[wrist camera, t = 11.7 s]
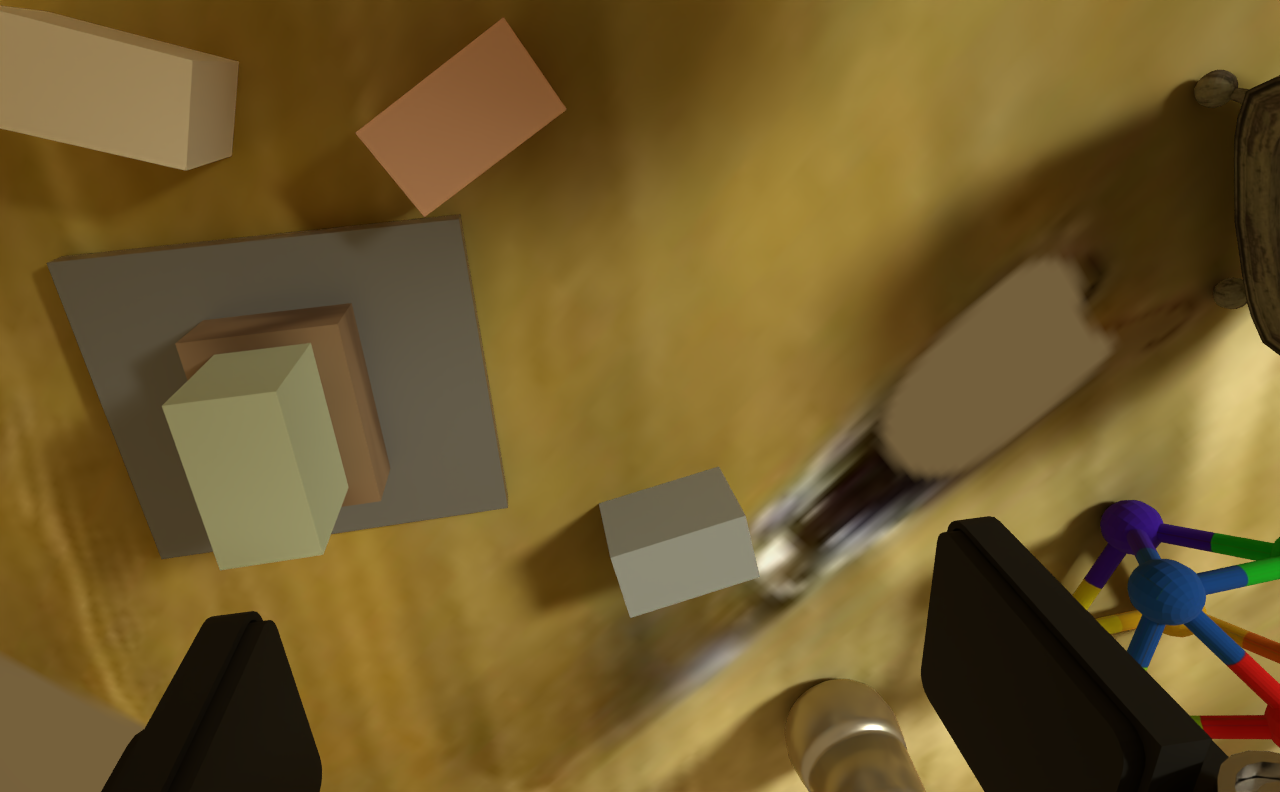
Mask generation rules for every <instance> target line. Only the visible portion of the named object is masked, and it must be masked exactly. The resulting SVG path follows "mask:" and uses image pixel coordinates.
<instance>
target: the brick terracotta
mask: <svg viewBox="0 0 1280 792" xmlns="http://www.w3.org/2000/svg"><path fill="white" fill-rule="evenodd" d="M565 110H567V109H566V108H565V106H564V105H563V103H562V102H561V100H560V99H559V97H558V96H557V94H556V93H555V91H554V90H553V89H552V87H551V86H550V84H549V83H548V81H547V80H546V78H545V77H544V75H543V74H542V72H541V71H540V70H539V68H538V67H537V65H536V64H535V62H534V61H533V59H532V58H531V56H530V55H529V53H528V52H527V51H526V49H525V48H524V46H523V45H522V43H521V42H520V40H519V39H518V37H517V36H516V34H515V33H514V32H513V30H512V29H511V27H510V26H509V24H508V23H507V21H506V20H505V18H504V17H503V18H502V19H500V20H499V21H498V22H497V23H495V24H494V25H493V26H491V27H490V28H489V29H488V30H486V31H485V32H484V33H482V34H481V35H480V36H479V37H477V38H476V39H475V40H474V41H472V42H471V43H470V44H468V45H467V46H466V47H465V48H463V49H462V50H461V51H459V52H458V53H457V54H456V55H454V56H453V57H452V58H450V59H449V60H448V61H447V62H445V63H444V64H443V65H441V66H440V67H439V68H438V69H436V70H435V71H434V72H433V73H431V74H430V75H429V76H427V77H426V78H425V79H424V80H422V81H421V82H420V83H418V84H417V85H416V86H415V87H413V88H412V89H411V90H409V91H408V92H407V93H406V94H404V95H403V96H402V97H400V98H399V99H398V100H397V101H395V102H394V103H393V104H392V105H390V106H389V107H388V108H386V109H385V110H384V111H383V112H381V113H380V114H379V115H377V116H376V117H375V118H374V119H372V120H371V121H370V122H368V123H367V124H366V125H365V126H363V127H362V128H361V129H360V130H358V131H357V132H356V135H357V136H358V137H359V138H360V139H361V141H362V142H363V143H364V144H365V145H366V147H367V148H368V149H369V150H370V152H371V153H372V154H373V155H374V156H375V158H376V159H377V160H378V161H379V163H380V164H381V165H382V166H383V167H384V169H385V170H386V171H387V172H388V173H389V175H390V176H391V177H392V178H393V180H394V181H395V182H396V183H397V184H398V186H399V187H400V188H401V189H402V190H403V192H404V193H405V194H406V195H407V197H408V198H409V199H410V200H411V201H412V203H413V204H414V205H415V206H416V208H417V209H418V210H419V211H420V212H421V214H422V215H423V216H424V217H425V216H427V215H428V214H429V213H431V212H432V211H433V210H435V209H436V208H437V207H439V206H440V205H441V204H443V203H444V202H445V201H447V200H448V199H449V198H451V197H452V196H453V195H455V194H456V193H457V192H458V191H460V190H461V189H462V188H464V187H465V186H466V185H468V184H469V183H470V182H472V181H473V180H474V179H476V178H477V177H478V176H480V175H481V174H482V173H484V172H485V171H486V170H487V169H489V168H490V167H491V166H493V165H494V164H495V163H497V162H498V161H499V160H501V159H502V158H503V157H505V156H506V155H507V154H509V153H510V152H511V151H513V150H514V149H515V148H517V147H518V146H519V145H520V144H522V143H523V142H524V141H526V140H527V139H528V138H530V137H531V136H532V135H534V134H535V133H536V132H538V131H539V130H540V129H542V128H543V127H544V126H546V125H547V124H548V123H549V122H551V121H552V120H553V119H555V118H556V117H557V116H559V115H560V114H561V113H563V112H564V111H565Z"/></svg>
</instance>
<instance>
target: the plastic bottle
mask: <svg viewBox="0 0 1280 792" xmlns="http://www.w3.org/2000/svg"><path fill="white" fill-rule="evenodd" d="M785 739H786V744H787V750H788V755H789V758H790V761H791V763H792V765H793V767H794V769H795V770H796V772H797V774H798V776H799V777H800V779H801V781H802V782H803V784H804V785H805V787H806V788H807V789H808V791H809V792H926V790H925V788H924V786H923V784H922V782H921V780H920V777H919V775H918V773H917V771H916V769H915V767H914V764H913V762H912V760H911V758H910V756H909V754H908V751H907V747H906V744H905V741H904V737H903V734H902V731H901V729H900V726H899V724H898V721H897V719H896V716H895V714H894V712H893V711H892V709H891V708H890V706H889V705H888V704H887V703H886V702H885V701H884V700H883V698H882V697H881V696H880V695H879V694H878V693H877V692H876V691H875V690H874V689H873V688H871V687H869V686H867V685H865V684H863V683H860V682H857V681H854V680H850V679H833V680H829V681H825V682H822V683H820V684H817V685H815V686H813V687H812V688H810V689H808V690H807V691H806V692H804V693H803V694H802V695H801V696H800V697H799V698H798V699H797V700H796V701H795V703H794V704H793V706H792V708H791V710H790V713H789V715H788V718H787V721H786V725H785Z"/></svg>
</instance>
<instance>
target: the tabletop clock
mask: <svg viewBox="0 0 1280 792" xmlns="http://www.w3.org/2000/svg"><path fill="white" fill-rule="evenodd" d="M1194 96H1195V99H1196V101H1197V102H1198V103H1199V104H1201V105H1203V106H1205V107H1208V108H1215V107H1219V106H1222V105H1224V104H1225V103H1227V102H1228V101H1229V100H1233V101H1236V102H1239V103H1242V106H1241V109H1240V112H1239V115H1238V118H1237V125H1236V132H1235V139H1234V201H1235V227H1236V234H1237V241H1238V249H1239V256H1240V263H1241V270H1242V277H1243V280H1242V279H1238V278H1227V279H1225V280H1222V281H1221V282H1220V283H1218V284H1217V285H1216V287H1215V288H1214V291H1213V298H1214V301H1215V302H1216V303H1217V305H1219V306H1221V307H1224V308H1229V309H1237V308H1240V307H1243V306H1244V305H1245V304H1248V307H1249V311H1250V314H1251V317H1252V320H1253V322H1254V324H1255V327H1256V329H1257V331H1258V333H1259V336H1260V338H1261V340H1262V342H1263V343H1264V344H1265V345H1267V346H1268V347H1269V348H1271V349H1272V350H1273V351H1275V352H1276V353H1277V354H1279V355H1280V75H1279V76H1277V77H1275V78H1273V79H1271V80H1269V81H1267V82H1265V83H1262V84H1260V85H1258V86H1256V87H1254V88H1252V89H1242V88H1238V82H1237V78H1236V76H1235V75H1233V74H1232V73H1230V72H1228V71H1225V70H1215V71H1212V72H1210V73H1208V74H1206V75H1205V76H1204V77H1202V78H1201V79H1200V80H1199V81H1198V82H1197V84H1196V87H1195V90H1194Z"/></svg>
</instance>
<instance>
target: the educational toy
mask: <svg viewBox="0 0 1280 792" xmlns="http://www.w3.org/2000/svg"><path fill="white" fill-rule="evenodd" d="M1100 527H1101V532H1102V535H1103V537H1104V539H1105V540H1106V541H1107V542H1108V544H1107V546H1106V547H1105V549H1104V550H1103V552H1102V553H1101V555H1100V556H1099V557H1098V559H1097V560H1096V562H1095V563H1094V565H1093V566H1092V568H1091V569H1090V571H1089V572H1088V574H1087V575H1086V577H1085V578H1084V579H1083V581H1082V582H1081V584H1080V585H1079V587H1078V588H1077V590H1076V591H1075V593H1074V594H1073V597H1074V598H1075V599H1076V600H1077V601H1078V602H1079V603H1080V604H1081V605H1082V606H1083V607H1084V608H1085V609H1086V610H1088V608H1089V607H1090V605H1091V604H1092V602H1093V601H1094V600H1095V598H1096V597H1097V595H1098V594H1099V592H1100V591H1101V589H1102V588H1103V587H1104V585H1105V584H1106V582H1107V581H1108V579H1109V578H1110V577H1111V575H1112V574H1113V572H1114V571H1115V569H1116V568H1117V566H1118V565H1119V564H1120V562H1121V561H1122V559H1123V558H1124V556H1125V555H1126V554H1132V555H1135V557H1136V559H1137V561H1138V563H1139V566H1138V567H1137V568H1136V569H1135V570H1134V571H1133V572H1132V574H1131V575H1130V577H1129V581H1128V593H1129V597H1130V601H1131V603H1132V604H1133V606H1134V607H1135V608H1136V609H1137V610H1133V611H1128V612H1124V613H1119V614H1114V615H1110V616H1105V617H1100V618H1096V620H1097V621H1098V622H1099V623H1100V624H1101V625H1102V626H1103V628H1104V629H1105V630H1106V631H1107V632H1108V633H1109V634H1113V633H1118V632H1122V631H1127V630H1131V629H1136V631H1135V633H1134V635H1133V638H1132V640H1131V643H1130V645H1129V647H1128V650H1127V652H1128V653H1129V654H1130V655H1131V656H1132V657H1133V658H1134V659H1135V660H1136V661H1137V662H1138V663H1139V664H1140V665H1141V666H1142V667H1143V668H1144V669H1145V671H1146V670H1147V668H1148V666H1149V663H1150V661H1151V659H1152V656H1153V654H1154V652H1155V649H1156V647H1157V645H1158V642H1159V640H1160V638H1161V635H1162V633H1164V634H1167V635H1170V636H1176V637H1186V636H1190V635H1193V634H1194V635H1195V636H1196V637H1198V638H1199V639H1200V640H1201V641H1202V642H1203V643H1204V644H1205V645H1206V646H1207V647H1208V648H1209V649H1210V650H1211V651H1212V652H1213V653H1214V654H1215V655H1216V656H1217V657H1218V658H1219V659H1220V660H1222V661H1223V662H1224V663H1225V664H1226V665H1227V666H1228V667H1229V668H1230V669H1231V670H1232V671H1233V672H1234V673H1235V674H1236V675H1237V676H1238V677H1239V678H1240V679H1241V680H1242V681H1243V682H1245V683H1246V684H1247V685H1248V686H1249V687H1250V688H1251V689H1252V690H1253V691H1254V692H1255V693H1256V694H1257V695H1258V696H1259V697H1260V698H1261V699H1262V700H1263V701H1264V702H1265V703H1266V704H1268V705H1267V708H1266V710H1265V714H1264V715H1231V716H1190V717H1191V718H1192V719H1193V720H1194V721H1195V722H1196V723H1197V724H1198V725H1199V726H1200V727H1201V728H1202V729H1203V730H1204V731H1205V732H1206V733H1207V734H1208V735H1209V736H1210V737H1211V738H1212V739H1272V740H1273V742H1274V743H1275V744H1276V745H1277V746H1278V747H1280V684H1279V683H1278V682H1277V681H1276V680H1275V679H1274V678H1273V677H1272V676H1271V675H1270V674H1269V673H1267V672H1266V671H1265V670H1264V669H1263V668H1262V667H1261V666H1260V665H1259V664H1258V663H1257V662H1256V661H1255V660H1254V659H1253V658H1252V657H1251V656H1249V655H1248V654H1247V653H1246V652H1245V651H1244V650H1243V649H1242V648H1244V649H1246V650H1249V651H1251V652H1253V653H1256V654H1258V655H1261V656H1263V657H1265V658H1268V659H1270V660H1272V661H1275V662H1277V663H1280V643H1277V642H1275V641H1272V640H1270V639H1267V638H1265V637H1262V636H1260V635H1257V634H1255V633H1252V632H1250V631H1247V630H1245V629H1242V628H1240V627H1237V626H1235V625H1232V624H1230V623H1227V622H1225V621H1222V620H1220V619H1217V618H1215V617H1212V616H1210V615H1207V614H1206V609H1205V606H1204V605H1205V600H1206V595H1208V594H1213V593H1217V592H1222V591H1226V590H1231V589H1236V588H1240V587H1245V586H1250V585H1254V584H1259V583H1263V582H1268V581H1273V580H1277V579H1280V537H1279V538H1278V539H1277V540H1276V541H1275V543H1269V542H1263V541H1258V540H1252V539H1247V538H1241V537H1235V536H1230V535H1224V534H1218V533H1213V532H1207V531H1202V530H1196V529H1190V528H1185V527H1179V526H1174V525H1168V524H1164V523H1163V521H1162V519H1161V516H1160V515H1159V513H1158V512H1157V511H1156V510H1155V509H1154V508H1152V507H1151V506H1149V505H1147V504H1145V503H1143V502H1141V501H1137V500H1124V501H1119V502H1117V503H1115V504H1112V505H1111V506H1109V507H1108V508H1107V509H1106V510H1105V512H1104V513H1103V515H1102V518H1101V522H1100ZM1161 542H1163V543H1168V544H1174V545H1179V546H1184V547H1189V548H1194V549H1199V550H1204V551H1209V552H1215V553H1220V554H1225V555H1230V556H1235V557H1240V558H1245V559H1250V560H1255V561H1253V562H1249V563H1244V564H1239V565H1234V566H1230V567H1225V568H1220V569H1216V570H1211V571H1206V572H1202V573H1197V574H1196V573H1195V572H1194V571H1193V570H1191V569H1190V568H1188V567H1187V566H1185V565H1183V564H1181V563H1179V562H1177V561H1174V560H1170V559H1161V558H1160V556H1159V554H1158V553H1157V551H1156V549H1155V548H1157V546H1158V545H1159V544H1160V543H1161Z"/></svg>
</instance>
